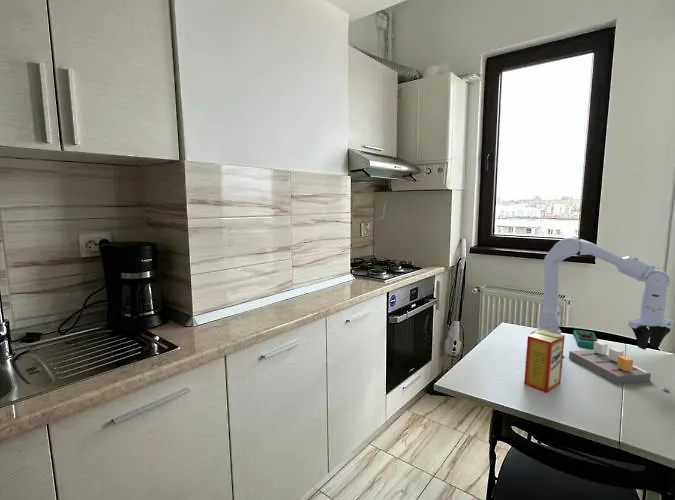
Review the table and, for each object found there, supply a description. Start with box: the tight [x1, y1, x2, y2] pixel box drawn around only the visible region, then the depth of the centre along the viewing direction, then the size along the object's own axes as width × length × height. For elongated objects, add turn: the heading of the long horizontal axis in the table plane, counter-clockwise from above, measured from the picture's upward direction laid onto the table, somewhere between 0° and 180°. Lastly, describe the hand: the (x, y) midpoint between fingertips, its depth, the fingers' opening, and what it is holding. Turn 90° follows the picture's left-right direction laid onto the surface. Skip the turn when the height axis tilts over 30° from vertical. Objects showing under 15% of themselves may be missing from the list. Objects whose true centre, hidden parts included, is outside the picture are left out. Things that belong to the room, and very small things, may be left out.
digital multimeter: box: [572, 329, 599, 350], centre depth 145 cm, size 7×15×3 cm, turn 153°
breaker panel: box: [568, 340, 652, 385], centre depth 121 cm, size 12×19×6 cm, turn 9°
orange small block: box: [617, 355, 634, 371], centre depth 115 cm, size 2×3×4 cm
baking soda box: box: [523, 329, 566, 394], centre depth 110 cm, size 10×6×16 cm
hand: (647, 347), depth 115 cm, fingers open, 4 cm apart
